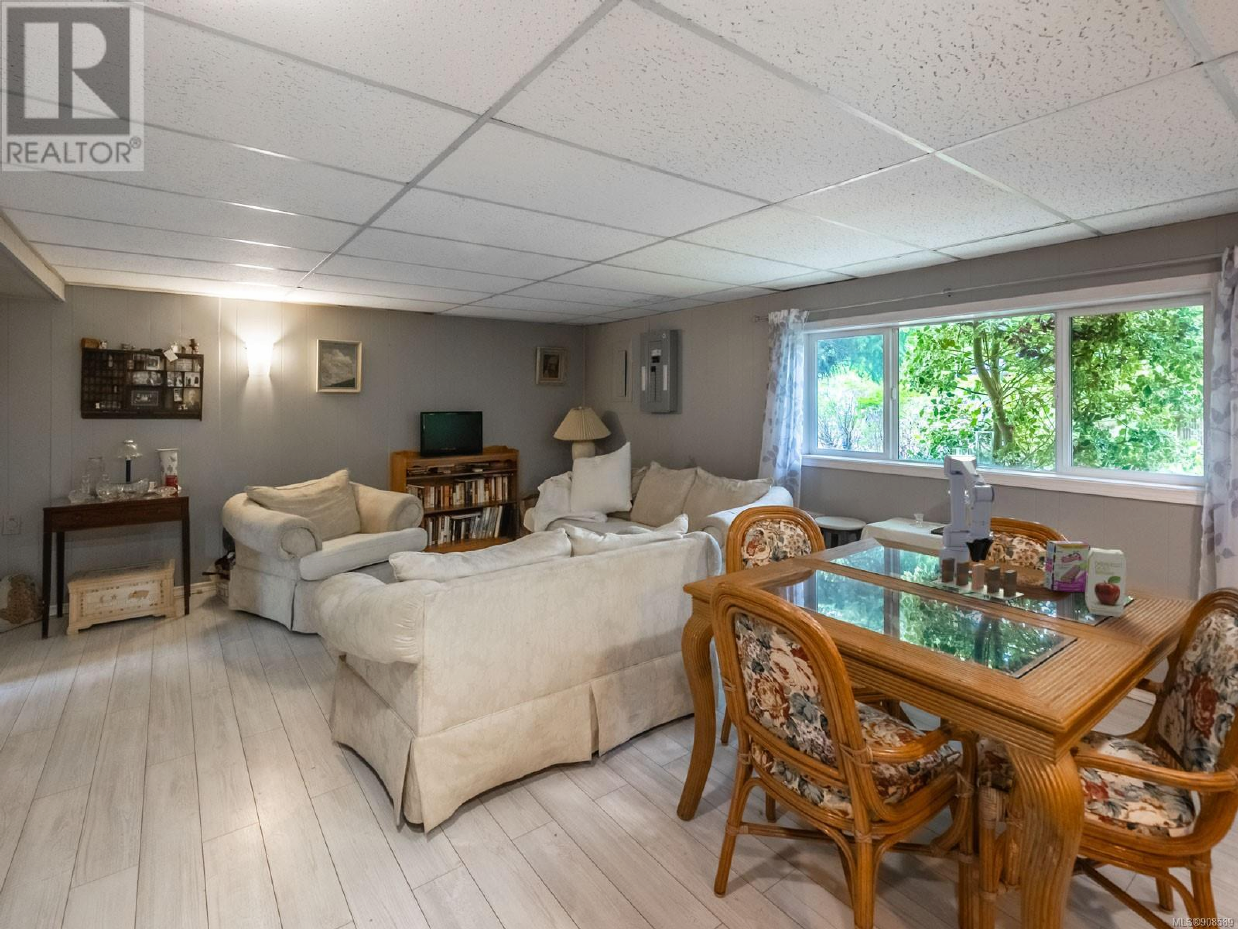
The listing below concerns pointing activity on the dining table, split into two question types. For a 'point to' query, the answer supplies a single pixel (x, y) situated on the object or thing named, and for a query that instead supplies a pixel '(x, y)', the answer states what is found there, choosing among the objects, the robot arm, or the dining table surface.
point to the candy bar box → (1066, 566)
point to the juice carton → (1105, 582)
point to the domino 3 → (978, 576)
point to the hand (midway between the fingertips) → (978, 560)
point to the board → (980, 591)
